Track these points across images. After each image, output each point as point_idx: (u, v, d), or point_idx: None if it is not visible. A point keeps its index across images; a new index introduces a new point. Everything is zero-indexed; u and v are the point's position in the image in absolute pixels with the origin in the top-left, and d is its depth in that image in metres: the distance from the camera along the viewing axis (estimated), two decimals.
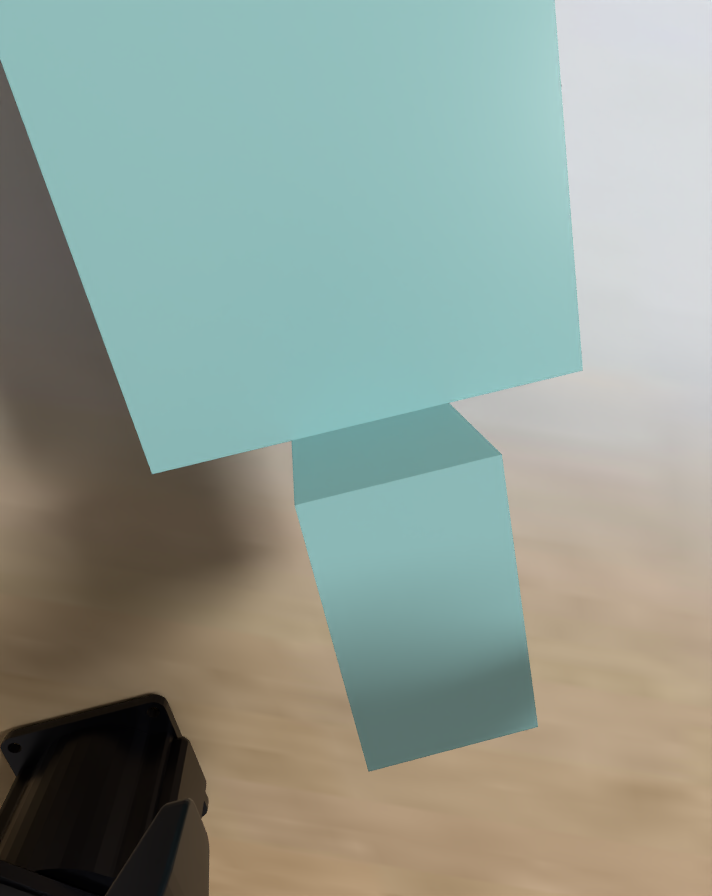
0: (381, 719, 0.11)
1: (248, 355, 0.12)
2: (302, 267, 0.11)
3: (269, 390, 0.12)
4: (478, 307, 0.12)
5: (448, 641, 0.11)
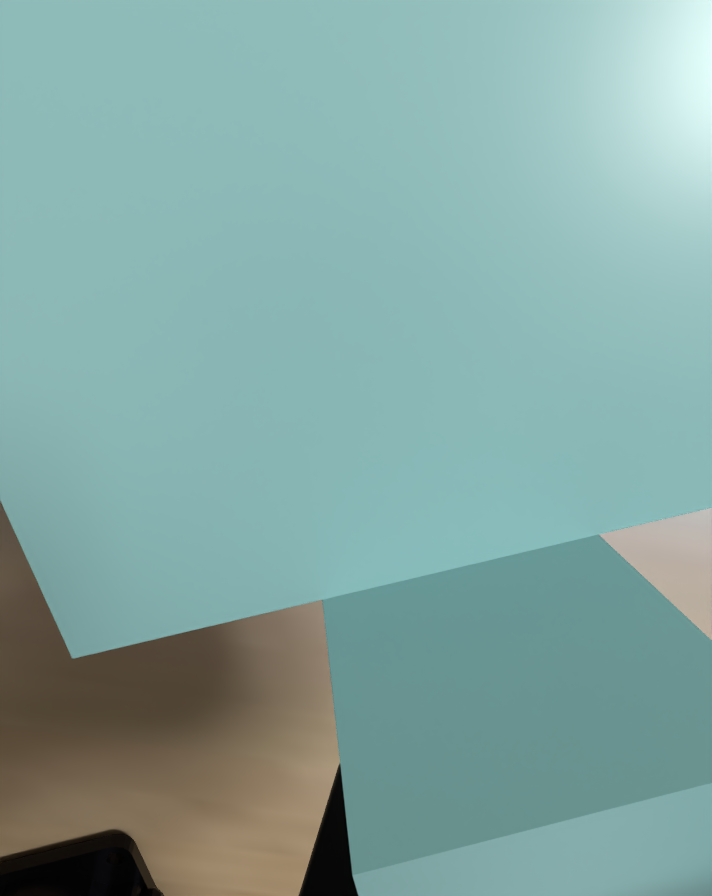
0: None
1: (248, 458, 0.06)
2: (355, 298, 0.06)
3: (286, 518, 0.07)
4: (669, 373, 0.07)
5: None
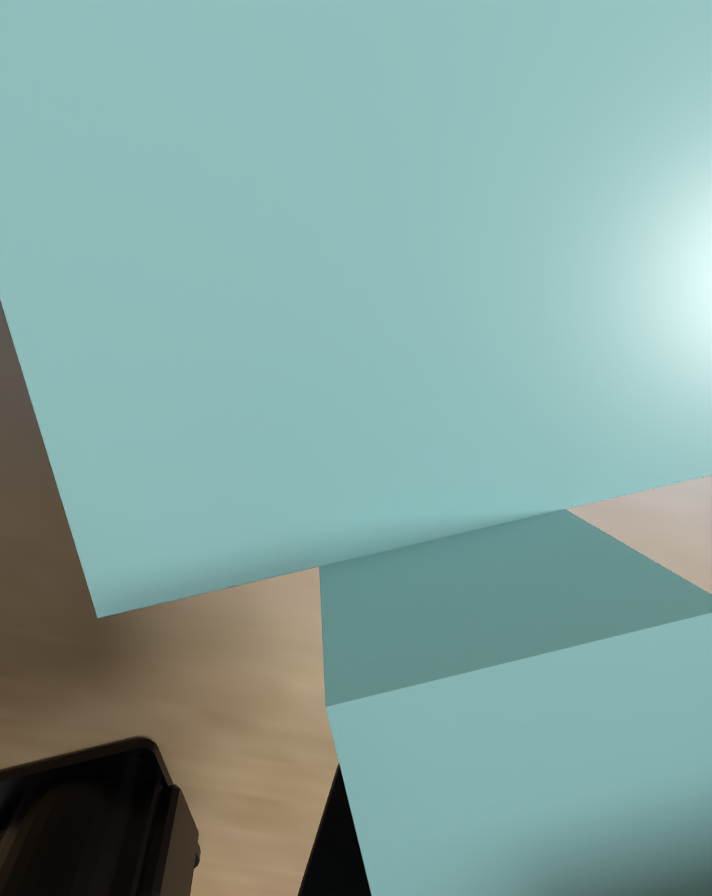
0: None
1: (255, 432, 0.08)
2: (342, 299, 0.08)
3: (288, 486, 0.08)
4: (610, 362, 0.08)
5: None
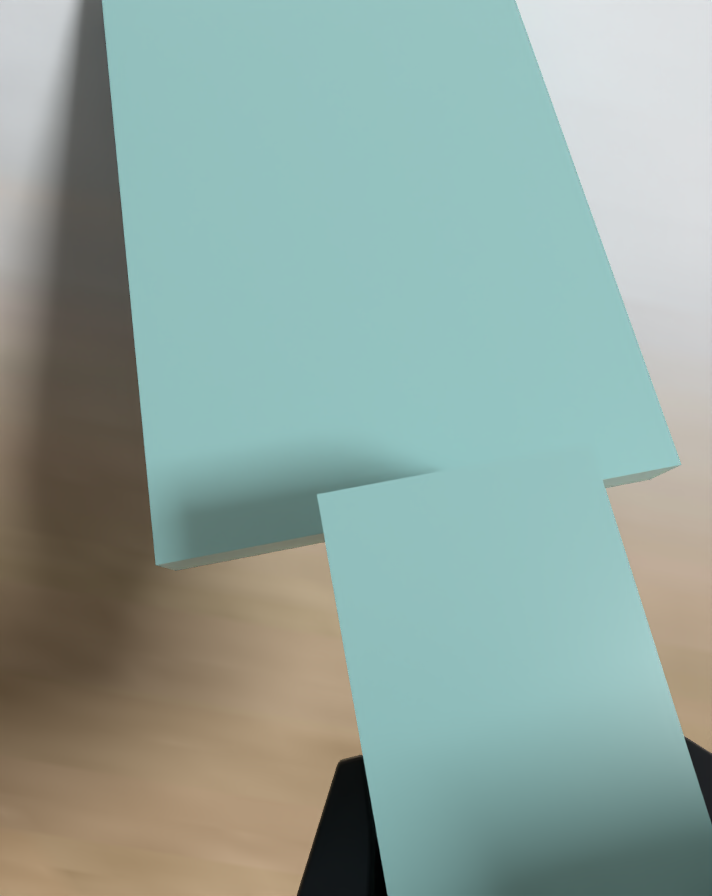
0: None
1: (288, 431, 0.11)
2: (352, 348, 0.11)
3: (308, 470, 0.11)
4: (541, 391, 0.11)
5: (556, 761, 0.06)
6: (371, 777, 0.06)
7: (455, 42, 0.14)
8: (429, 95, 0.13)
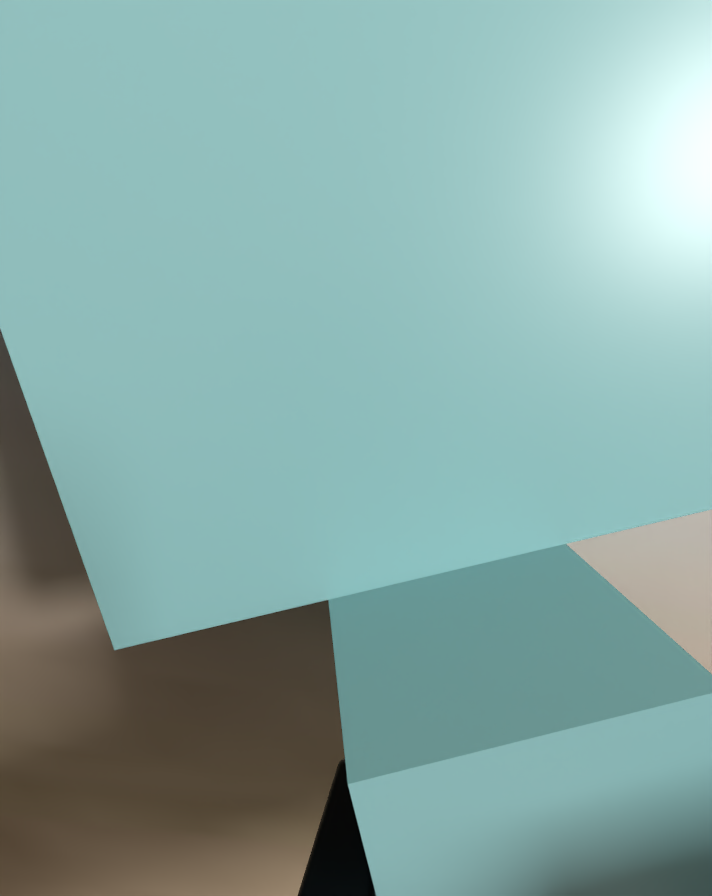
0: None
1: (266, 475, 0.08)
2: (353, 344, 0.07)
3: (298, 526, 0.08)
4: (615, 404, 0.08)
5: None
6: None
7: None
8: None
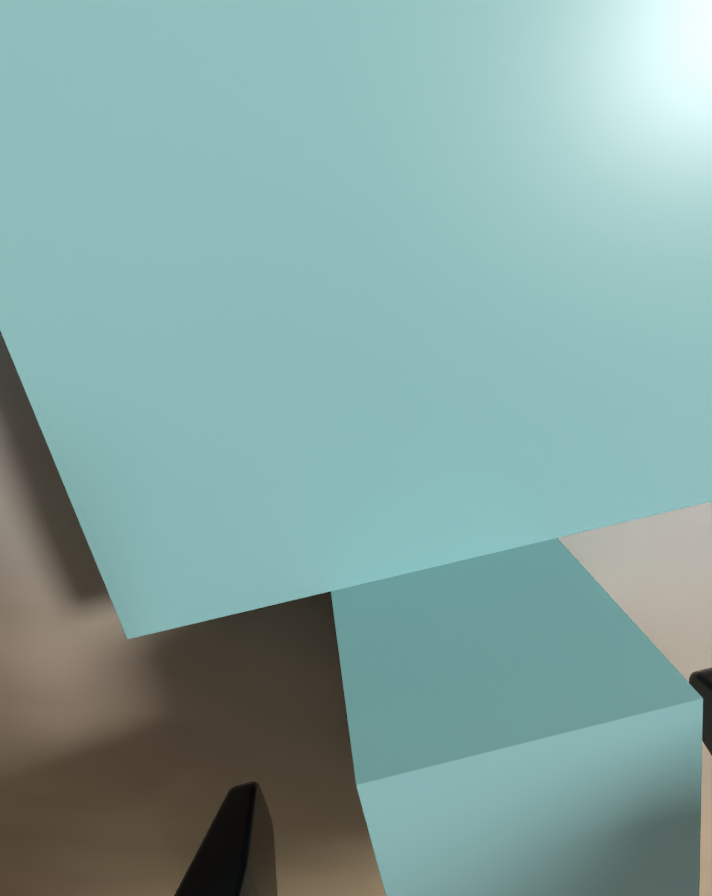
0: None
1: (270, 478, 0.08)
2: (357, 352, 0.08)
3: (302, 525, 0.08)
4: (611, 408, 0.08)
5: None
6: None
7: None
8: None
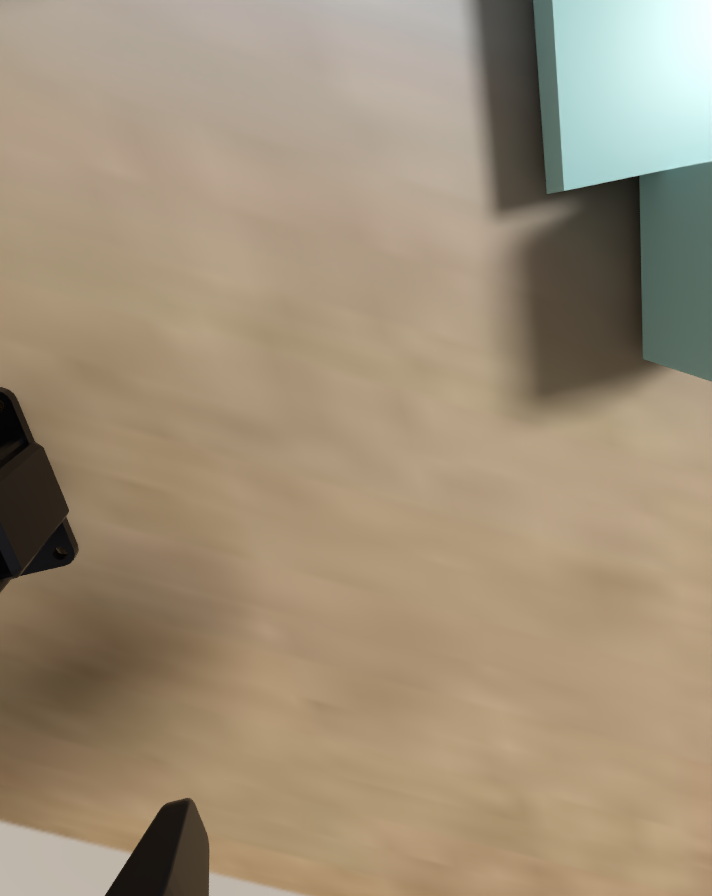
0: None
1: (648, 98, 0.17)
2: (698, 29, 0.16)
3: (656, 127, 0.17)
4: None
5: None
6: None
7: None
8: None
